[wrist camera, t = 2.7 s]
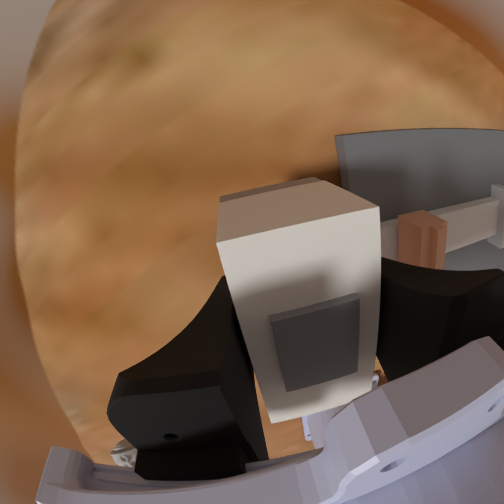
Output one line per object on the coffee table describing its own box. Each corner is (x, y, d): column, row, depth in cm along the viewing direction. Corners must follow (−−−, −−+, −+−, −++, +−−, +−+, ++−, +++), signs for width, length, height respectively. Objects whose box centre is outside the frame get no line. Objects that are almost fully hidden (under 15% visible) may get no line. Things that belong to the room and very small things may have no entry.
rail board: (504, 263, 21) (522, 275, 18) (350, 325, 21) (365, 350, 18) (512, 130, 15) (534, 135, 12) (334, 135, 15) (356, 136, 12)
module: (329, 318, 14) (373, 400, 9) (256, 336, 14) (272, 429, 9) (313, 175, 11) (385, 209, 6) (219, 195, 11) (216, 247, 6)
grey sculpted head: (143, 403, 22) (132, 464, 16) (190, 435, 25) (189, 489, 19) (107, 415, 23) (93, 468, 17) (152, 444, 26) (146, 493, 19)
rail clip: (420, 272, 16) (446, 294, 14) (396, 280, 16) (421, 304, 14) (423, 209, 15) (454, 225, 12) (397, 215, 15) (428, 232, 12)
